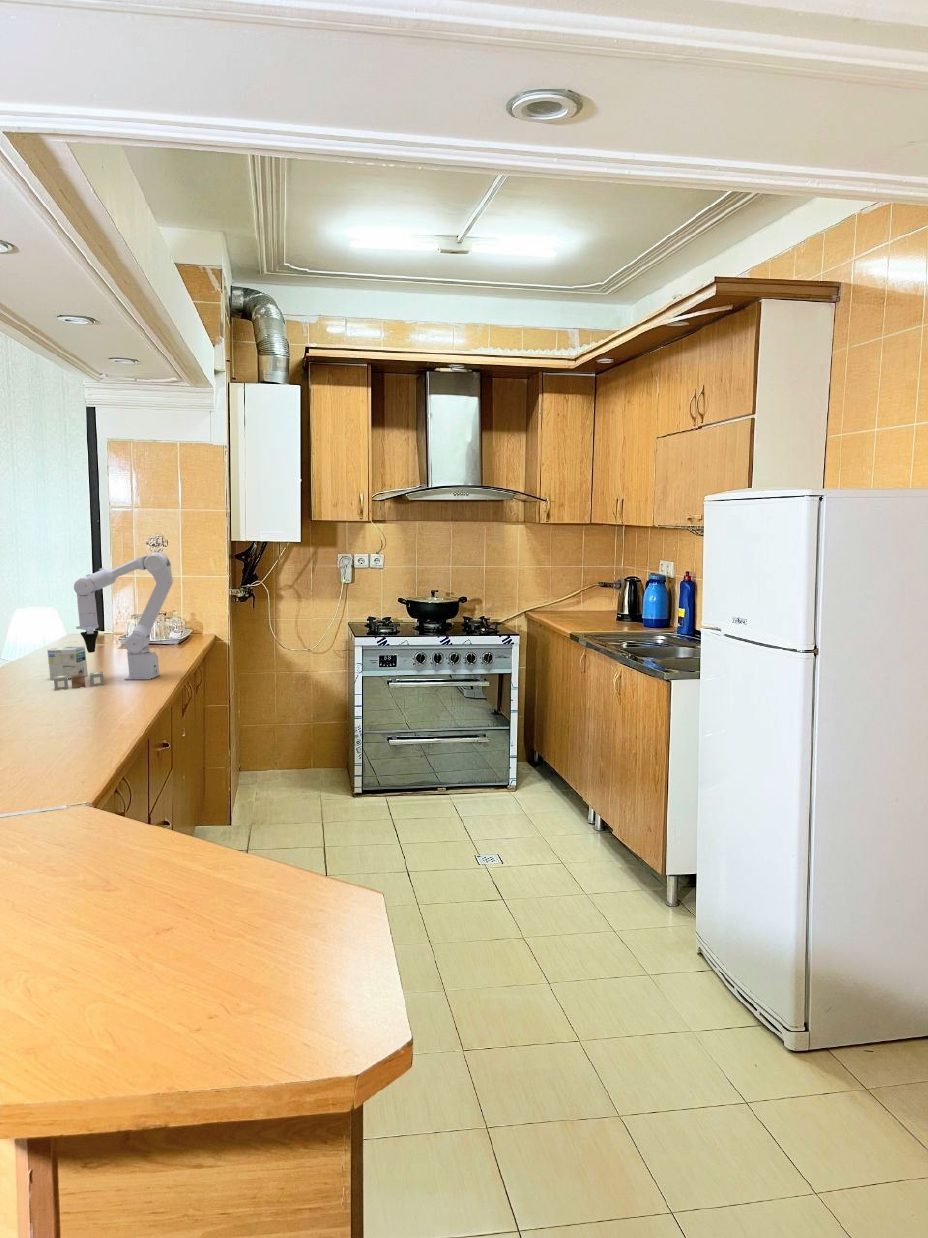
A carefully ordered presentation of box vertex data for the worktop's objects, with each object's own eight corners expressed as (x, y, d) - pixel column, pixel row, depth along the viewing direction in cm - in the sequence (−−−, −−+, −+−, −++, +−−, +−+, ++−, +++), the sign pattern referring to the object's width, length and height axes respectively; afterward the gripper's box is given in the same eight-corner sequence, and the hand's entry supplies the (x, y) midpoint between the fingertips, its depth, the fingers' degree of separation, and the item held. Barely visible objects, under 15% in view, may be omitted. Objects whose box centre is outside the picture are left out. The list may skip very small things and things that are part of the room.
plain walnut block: (85, 685, 298) (84, 673, 298) (85, 687, 295) (84, 675, 294) (72, 686, 297) (71, 675, 296) (72, 688, 293) (71, 677, 292)
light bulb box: (88, 675, 315) (85, 645, 314) (78, 679, 308) (75, 649, 307) (60, 676, 316) (57, 646, 315) (49, 679, 310) (46, 649, 308)
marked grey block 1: (68, 687, 296) (66, 674, 296) (68, 689, 293) (67, 677, 292) (55, 688, 295) (53, 676, 294) (54, 690, 291) (53, 678, 290)
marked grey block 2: (103, 683, 301) (102, 671, 300) (104, 685, 297) (102, 673, 296) (90, 684, 299) (89, 672, 298) (91, 687, 295) (89, 674, 295)
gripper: (74, 611, 308) (77, 650, 310) (75, 616, 295) (79, 656, 297) (96, 610, 311) (99, 648, 313) (98, 614, 298) (102, 654, 300)
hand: (91, 652), depth 305 cm, fingers closed
